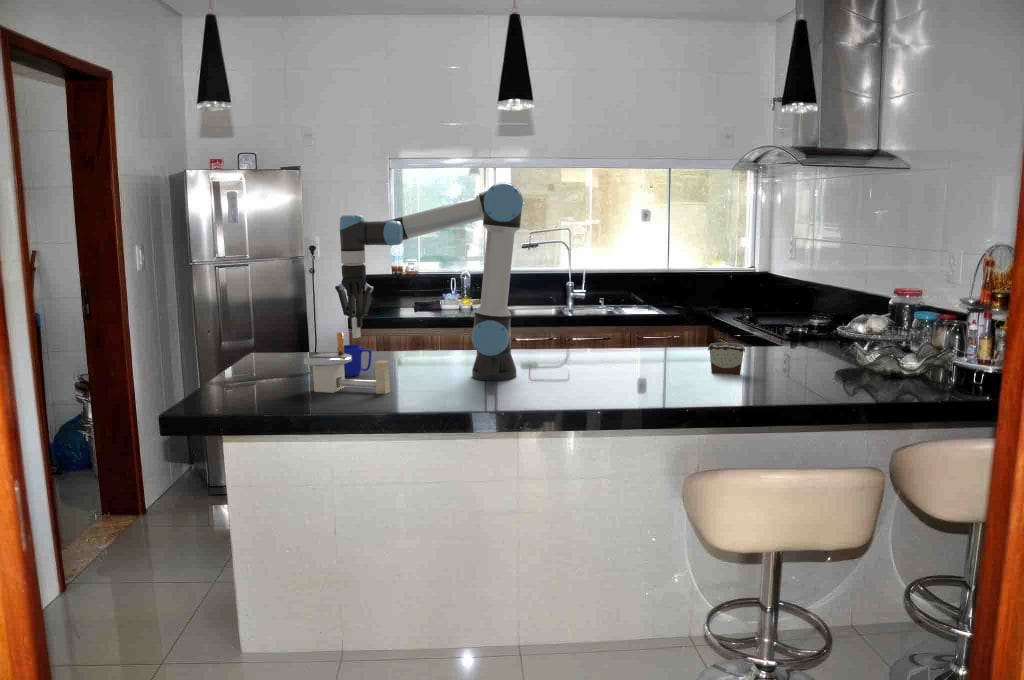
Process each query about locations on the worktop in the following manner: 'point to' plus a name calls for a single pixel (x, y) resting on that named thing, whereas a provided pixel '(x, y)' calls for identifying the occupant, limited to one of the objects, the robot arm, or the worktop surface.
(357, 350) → the mug
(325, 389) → the eye block
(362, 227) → the robot arm
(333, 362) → the handwheel
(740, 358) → the food container
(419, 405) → the worktop surface
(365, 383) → the hook rod
